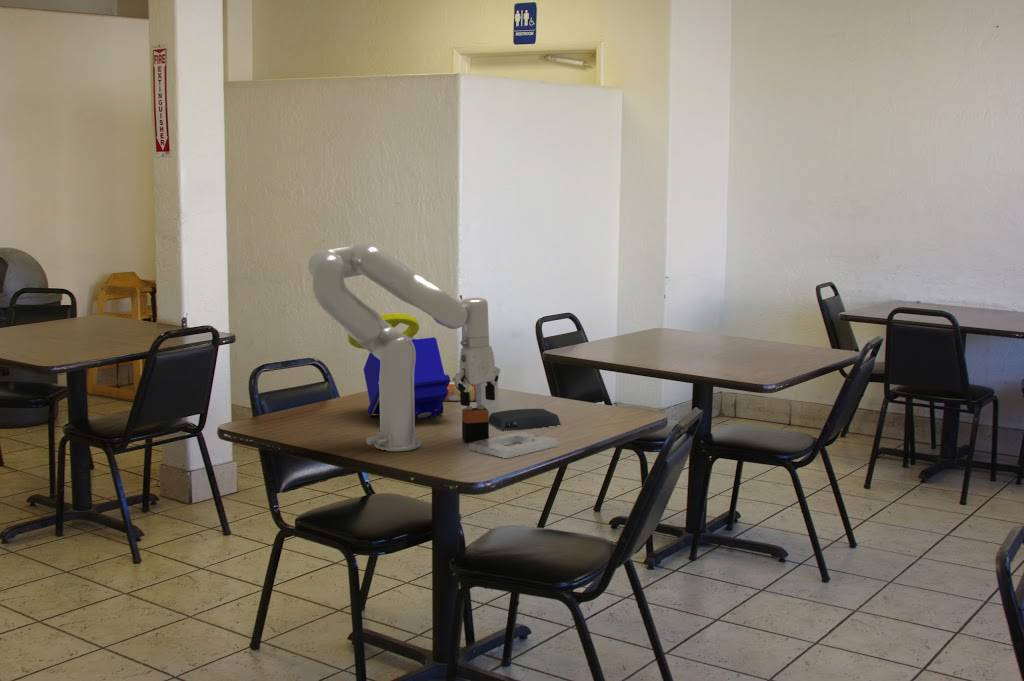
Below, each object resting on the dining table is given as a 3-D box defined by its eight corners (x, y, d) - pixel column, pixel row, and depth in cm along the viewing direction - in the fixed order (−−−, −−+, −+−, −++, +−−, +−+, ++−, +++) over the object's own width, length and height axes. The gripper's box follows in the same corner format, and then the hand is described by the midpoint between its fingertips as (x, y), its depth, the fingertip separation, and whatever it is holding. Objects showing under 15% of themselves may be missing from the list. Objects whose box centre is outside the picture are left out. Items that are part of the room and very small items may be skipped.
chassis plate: (505, 458, 292) (505, 451, 292) (469, 450, 302) (469, 442, 302) (556, 446, 306) (556, 439, 306) (520, 438, 316) (520, 431, 316)
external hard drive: (486, 424, 337) (485, 411, 336) (544, 419, 344) (544, 406, 344) (502, 433, 325) (502, 419, 324) (562, 427, 332) (562, 414, 332)
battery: (489, 441, 312) (489, 406, 311) (465, 443, 310) (465, 408, 309) (484, 438, 316) (484, 403, 315) (461, 440, 314) (461, 405, 313)
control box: (459, 398, 330) (438, 307, 340) (371, 410, 321) (352, 316, 331) (441, 427, 352) (422, 341, 363) (358, 439, 343) (341, 350, 354)
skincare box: (493, 413, 351) (493, 375, 350) (498, 415, 348) (498, 377, 346) (475, 414, 349) (475, 377, 347) (481, 417, 345) (480, 379, 343)
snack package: (417, 402, 370) (417, 382, 369) (420, 398, 376) (420, 379, 375) (481, 403, 369) (481, 382, 368) (482, 399, 375) (482, 379, 374)
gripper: (462, 347, 301) (464, 409, 303) (507, 339, 313) (509, 399, 315) (443, 345, 306) (446, 406, 308) (488, 337, 318) (490, 396, 321)
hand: (477, 402), depth 312 cm, fingers open, 9 cm apart
